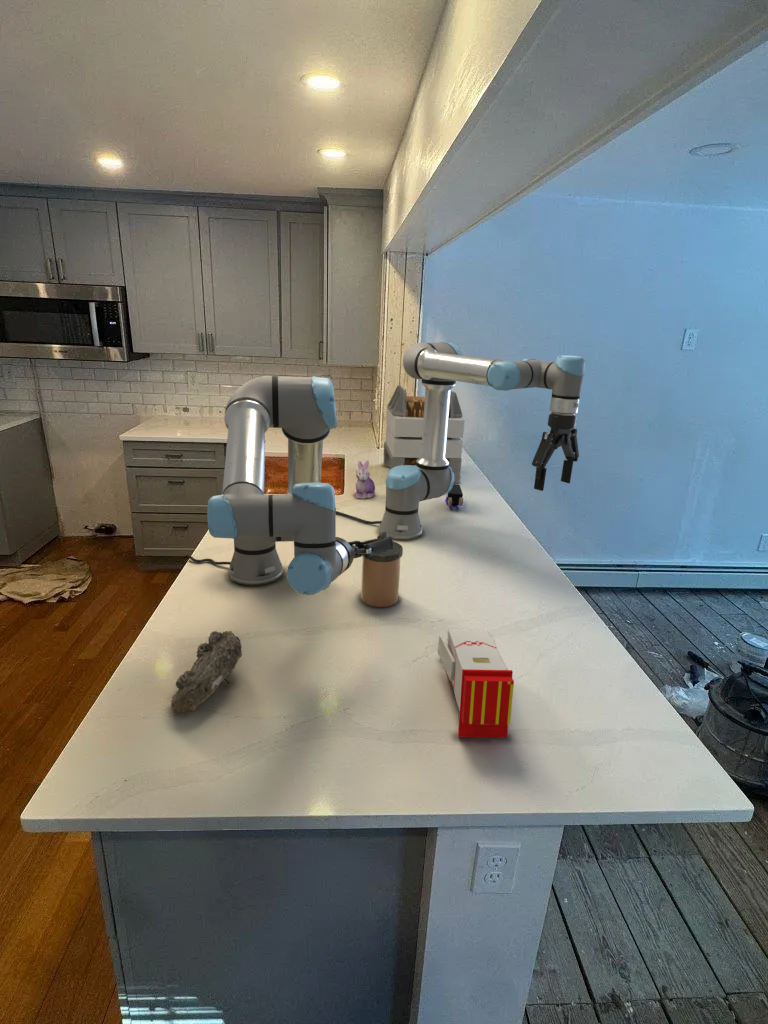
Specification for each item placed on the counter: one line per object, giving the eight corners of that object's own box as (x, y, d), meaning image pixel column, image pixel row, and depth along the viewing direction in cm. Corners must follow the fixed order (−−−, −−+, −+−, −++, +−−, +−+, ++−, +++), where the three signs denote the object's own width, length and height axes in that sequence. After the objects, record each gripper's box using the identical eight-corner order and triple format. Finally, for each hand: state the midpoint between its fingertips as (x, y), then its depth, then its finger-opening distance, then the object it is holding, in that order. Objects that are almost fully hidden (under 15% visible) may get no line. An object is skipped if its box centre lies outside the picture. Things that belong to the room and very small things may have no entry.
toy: (488, 613, 130) (523, 677, 101) (484, 667, 133) (517, 744, 104) (435, 612, 130) (455, 676, 101) (432, 666, 133) (451, 743, 103)
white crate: (382, 463, 289) (386, 382, 275) (445, 464, 293) (451, 384, 279) (390, 482, 257) (394, 392, 243) (460, 483, 261) (468, 394, 247)
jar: (361, 588, 160) (363, 540, 155) (397, 590, 160) (400, 542, 155) (360, 606, 150) (361, 556, 146) (398, 607, 151) (401, 557, 146)
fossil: (194, 633, 127) (242, 602, 122) (224, 662, 130) (271, 633, 125) (149, 706, 107) (203, 673, 102) (185, 738, 110) (239, 707, 105)
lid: (361, 544, 156) (361, 538, 155) (402, 545, 156) (402, 540, 156) (359, 561, 146) (359, 555, 145) (403, 562, 146) (403, 557, 145)
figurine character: (463, 515, 225) (458, 499, 238) (465, 497, 221) (460, 482, 235) (446, 514, 224) (442, 498, 238) (448, 497, 221) (444, 482, 235)
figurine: (359, 500, 232) (360, 465, 227) (349, 493, 240) (350, 458, 235) (380, 498, 236) (381, 463, 231) (369, 490, 244) (370, 457, 239)
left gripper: (274, 580, 115) (308, 558, 136) (394, 573, 110) (410, 552, 131) (269, 543, 115) (304, 527, 135) (390, 535, 109) (407, 520, 130)
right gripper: (548, 419, 148) (537, 496, 155) (598, 411, 163) (586, 482, 171) (525, 414, 153) (515, 489, 160) (575, 407, 169) (564, 476, 176)
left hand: (357, 539), depth 133 cm, fingers open, 13 cm apart
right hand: (552, 485), depth 166 cm, fingers open, 13 cm apart
